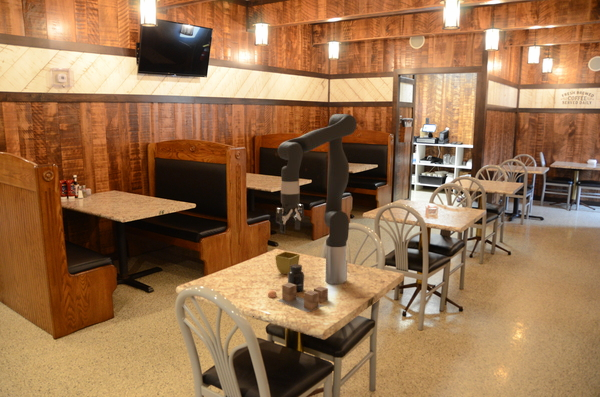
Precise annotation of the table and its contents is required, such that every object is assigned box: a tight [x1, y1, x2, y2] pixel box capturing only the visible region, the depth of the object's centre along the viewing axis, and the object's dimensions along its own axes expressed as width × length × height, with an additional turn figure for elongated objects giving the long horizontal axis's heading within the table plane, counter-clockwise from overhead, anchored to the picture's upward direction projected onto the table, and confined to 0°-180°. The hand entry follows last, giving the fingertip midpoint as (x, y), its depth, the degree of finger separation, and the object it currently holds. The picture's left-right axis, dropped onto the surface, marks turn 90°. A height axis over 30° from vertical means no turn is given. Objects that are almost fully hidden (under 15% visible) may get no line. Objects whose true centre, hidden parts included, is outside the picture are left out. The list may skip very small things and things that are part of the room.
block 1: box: [281, 282, 297, 302], centre depth 196 cm, size 4×4×6 cm
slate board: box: [277, 295, 324, 313], centre depth 193 cm, size 9×17×1 cm, turn 46°
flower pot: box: [274, 251, 301, 276], centre depth 232 cm, size 9×9×9 cm
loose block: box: [313, 285, 329, 303], centre depth 196 cm, size 4×4×6 cm
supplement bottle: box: [287, 263, 305, 294], centre depth 206 cm, size 7×7×12 cm
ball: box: [267, 289, 277, 299], centre depth 200 cm, size 4×4×4 cm
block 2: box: [303, 289, 320, 311], centre depth 188 cm, size 4×4×6 cm
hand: (290, 231), depth 198 cm, fingers open, 8 cm apart
